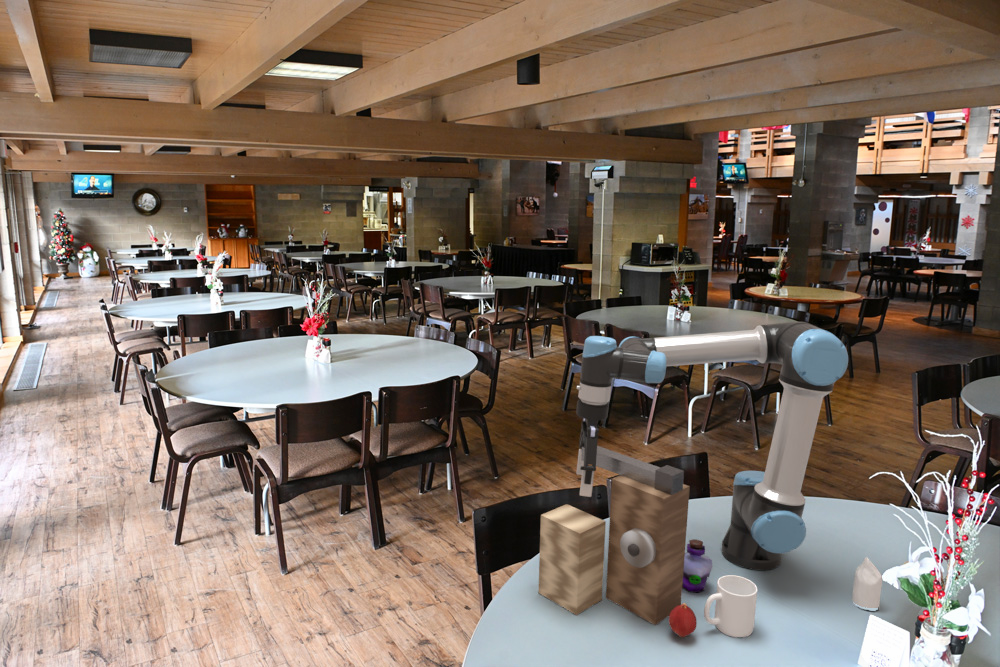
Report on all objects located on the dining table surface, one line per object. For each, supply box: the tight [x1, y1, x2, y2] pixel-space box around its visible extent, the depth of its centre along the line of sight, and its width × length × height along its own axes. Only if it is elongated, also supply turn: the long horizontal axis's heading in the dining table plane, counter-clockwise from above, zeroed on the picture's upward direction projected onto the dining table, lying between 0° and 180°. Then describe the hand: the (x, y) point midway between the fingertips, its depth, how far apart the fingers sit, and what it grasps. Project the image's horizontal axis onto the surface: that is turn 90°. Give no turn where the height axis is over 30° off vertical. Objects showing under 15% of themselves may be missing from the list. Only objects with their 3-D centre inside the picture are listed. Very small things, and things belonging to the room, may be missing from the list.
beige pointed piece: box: [851, 557, 883, 608], centre depth 159 cm, size 6×12×6 cm
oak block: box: [538, 503, 607, 616], centre depth 159 cm, size 12×9×20 cm
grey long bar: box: [581, 445, 685, 495], centre depth 157 cm, size 26×4×4 cm, turn 43°
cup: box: [703, 574, 758, 638], centre depth 149 cm, size 8×12×10 cm
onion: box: [668, 602, 697, 638], centre depth 146 cm, size 6×6×8 cm
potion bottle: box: [682, 539, 713, 594], centre depth 165 cm, size 9×9×12 cm
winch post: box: [605, 475, 691, 626], centre depth 155 cm, size 14×13×30 cm
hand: (583, 484), depth 166 cm, fingers open, 13 cm apart
